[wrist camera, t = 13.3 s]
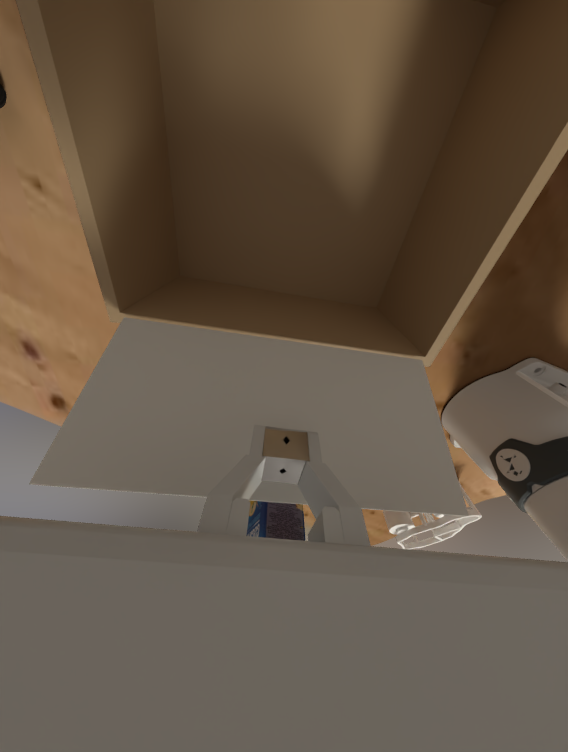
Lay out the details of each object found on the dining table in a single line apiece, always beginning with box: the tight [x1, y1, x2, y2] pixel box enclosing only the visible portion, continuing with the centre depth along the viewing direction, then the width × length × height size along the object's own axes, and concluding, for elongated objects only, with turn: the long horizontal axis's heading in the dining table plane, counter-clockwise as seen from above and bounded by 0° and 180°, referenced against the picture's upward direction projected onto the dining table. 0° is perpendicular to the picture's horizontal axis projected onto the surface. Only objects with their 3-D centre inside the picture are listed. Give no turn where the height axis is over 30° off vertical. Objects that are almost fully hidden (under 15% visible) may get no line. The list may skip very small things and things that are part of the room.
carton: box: [16, 0, 568, 367], centre depth 16 cm, size 24×22×12 cm
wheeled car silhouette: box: [383, 481, 482, 549], centre depth 52 cm, size 20×11×7 cm, turn 141°
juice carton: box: [246, 500, 305, 541], centre depth 40 cm, size 12×8×24 cm, turn 153°
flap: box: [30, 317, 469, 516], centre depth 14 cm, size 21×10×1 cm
